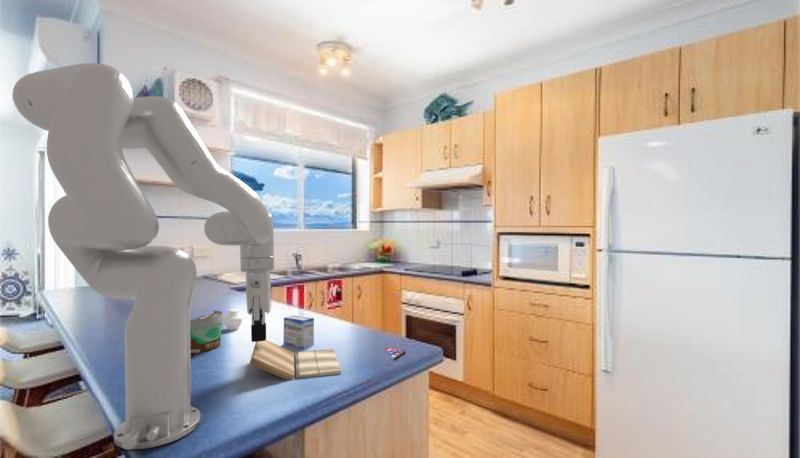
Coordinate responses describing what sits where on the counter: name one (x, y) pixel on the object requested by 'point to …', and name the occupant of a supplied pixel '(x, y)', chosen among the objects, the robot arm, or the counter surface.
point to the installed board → (316, 363)
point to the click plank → (273, 359)
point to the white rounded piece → (233, 319)
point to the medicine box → (298, 331)
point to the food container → (205, 332)
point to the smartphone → (395, 352)
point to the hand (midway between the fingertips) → (258, 340)
